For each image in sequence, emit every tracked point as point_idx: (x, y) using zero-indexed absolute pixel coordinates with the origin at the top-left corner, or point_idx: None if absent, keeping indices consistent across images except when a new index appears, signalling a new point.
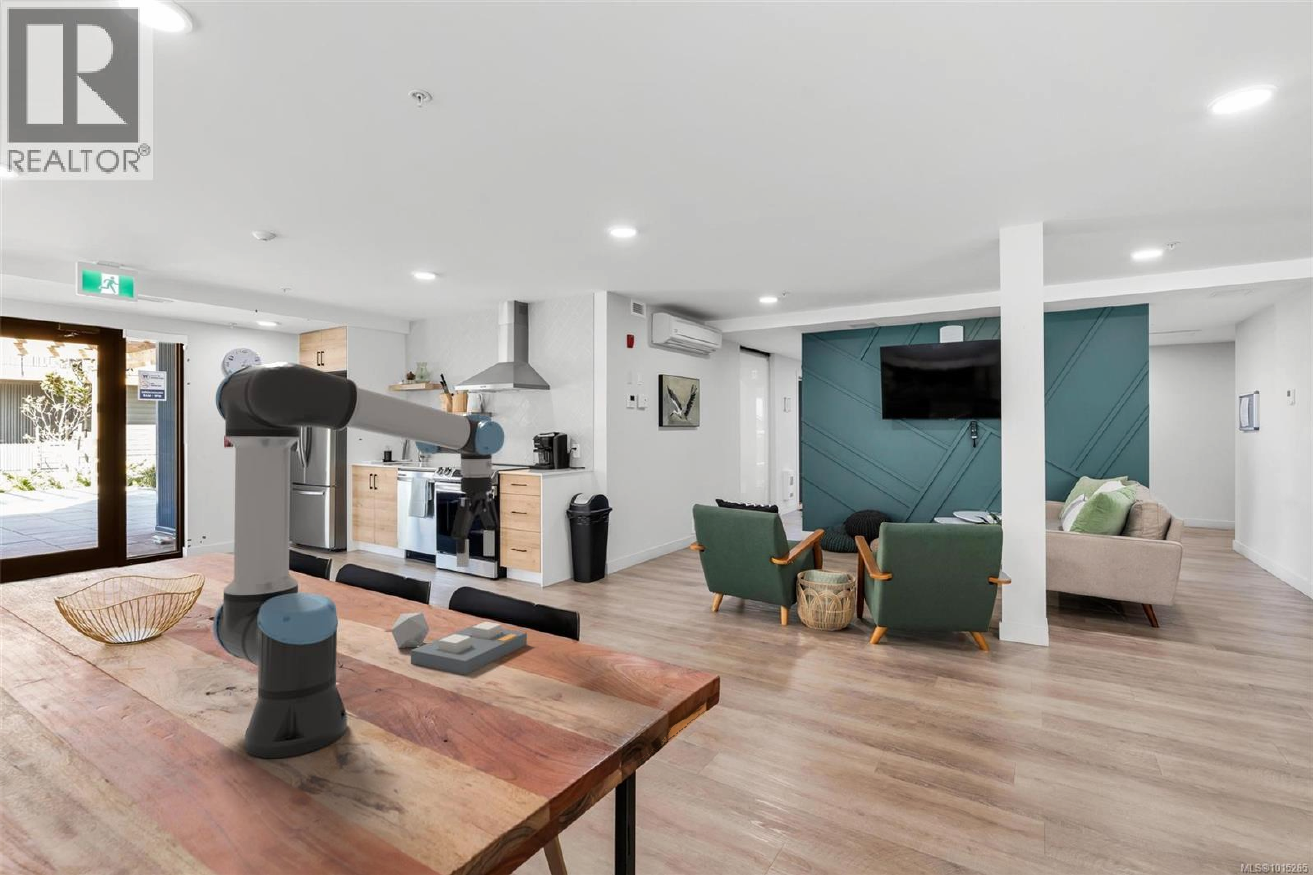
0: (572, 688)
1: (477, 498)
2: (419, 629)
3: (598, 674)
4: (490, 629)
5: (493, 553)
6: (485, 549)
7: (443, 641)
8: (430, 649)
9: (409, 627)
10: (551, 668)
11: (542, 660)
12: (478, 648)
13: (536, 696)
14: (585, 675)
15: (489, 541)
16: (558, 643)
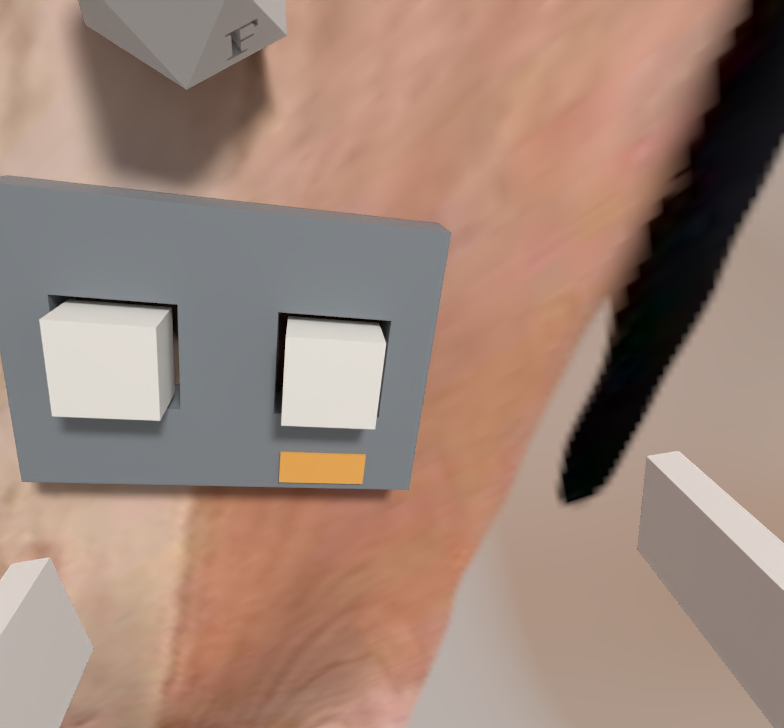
0: (137, 720)
1: None
2: (149, 59)
3: (252, 723)
4: (297, 425)
5: (659, 567)
6: (689, 526)
7: (43, 347)
8: (39, 267)
9: (91, 5)
10: (236, 624)
11: (284, 575)
12: (164, 441)
13: None
14: (231, 705)
15: (761, 659)
16: (447, 539)
